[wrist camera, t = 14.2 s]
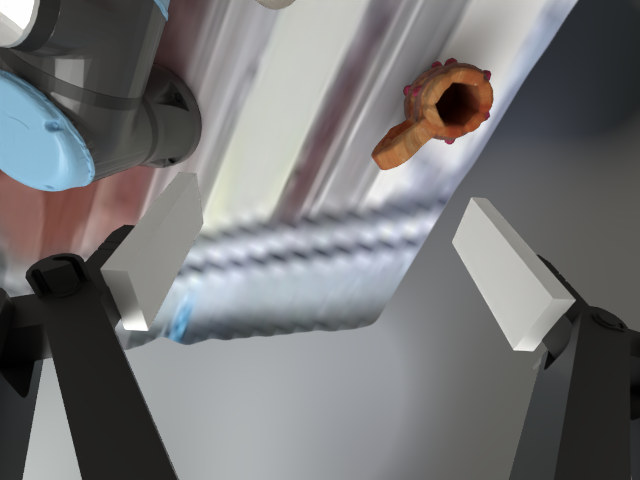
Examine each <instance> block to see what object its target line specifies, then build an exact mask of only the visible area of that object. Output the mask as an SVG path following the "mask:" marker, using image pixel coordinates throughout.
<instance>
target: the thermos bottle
mask: <svg viewBox="0 0 640 480" xmlns="http://www.w3.org/2000/svg"><path fill="white" fill-rule="evenodd" d="M256 1H257V2H258V3H260V4H261V5H263V6H265V7H267V8H270V9H282V8H285V7H287V6H289V5H290V4H292V3H293V2H294V1H295V0H256Z"/></svg>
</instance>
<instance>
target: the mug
mask: <svg viewBox="0 0 640 480" xmlns="http://www.w3.org/2000/svg"><path fill="white" fill-rule="evenodd" d="M490 77H491V73H490V71H487V70H484V71H482V70H481V69H479V68H477V67H476V66H474V65H470V64H466V63H458V62H457V60H456V59H454V58H451V59H448V60H447V61H446V62H445V65H444V66H442V64H441V63H440V62H438V61H437V62H435V63H433V65H432V68H431V69H430V70H428V71H426V72H424V73H423V74H421V75H420V76H419V77H418V78H417V79H416V80H415V81H414V82H413V83H412V84H411V85H407V86H405V88H404V90H403V92H404V95H406V97H405V101H404V111H405V116H406V121H404V122H403V123H401V124H399V125H397V126H394V127H393V128H391V129H390V130H389V131H388V133H387V134H386V135H385V136H384V138H383V139H382V140H381V141H380V142H379V143H378V145H377V146H376V147H375V149H374V150H373V152H372V158H373V159H374V161H375V162H376V163H377V165H378V166H379V167H380V169H382V170H388V169H391V168H394V167H397V166H399V165H401V164H402V163H404V162H406V161H407V160H408V159H410V158H411V157H412V156H413V155H414V154H415V153H416V152H417V151H418V150H419V149H420V148H421V147H422V146H423V145H424V144H425V143H426V142H427V141H428V140H430V139H431V138H435V139H439V140H445V142H446V143H447V144H452V143H454V141H455V139H456V138H458V137H461V136H463V135H465V134H467V133H468V132H472V131H474V130H476V129H477V128H478V127H479V126H480V124H481V122H483V121H486V120H487V119H488V118H489V117H490V114H489V110H490V109H491V107H492V103H493V89H492V87H491V84H490V82H489V80H490Z"/></svg>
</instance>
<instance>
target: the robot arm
mask: <svg viewBox="0 0 640 480" xmlns="http://www.w3.org/2000/svg"><path fill="white" fill-rule="evenodd" d="M169 2H170V0H0V169H1V170H2V171H3V172H5V173H6V174H8V175H9V176H11V177H12V178H14V179H15V180H17V181H19V182H21V183H23V184H25V185H27V186H30V187H32V188H36V189H40V190H44V191H61V190H65V189H69V188H72V187H80V186H86V185H88V184H90V183H92V182H94V181H97V180H100V179H102V178H105V177H108V176H110V175H113V174H116V173H118V172H121V171H124V170H127V169H129V168H132V167H134V166H137V165H138V166H146V167H153V168H165V167H170V166H173V165H176V164H178V163H181V162H183V161H184V160H186V159H187V158H189V157H190V156H191V155H192V153H193V152H194V151H195V149H196V147H197V145H198V143H199V140H200V135H201V118H200V113H199V109H198V106H197V103H196V101H195V99H194V97H193V95H192V93H191V92H190V90H189V89H188V87H187V86H186V85H185V84H184V82H183V81H182V80H181V79H180V78H179V77H177V76H176V75H175V74H174V73H172V72H171V71H169V70H168V69H166V68H164V67H162V66H159V65H156V64H153V62H154V58H155V55H156V52H157V48H158V45H159V42H160V38H161V35H162V32H163V29H164V25H165V22H166V21H167V20H168V12H167V11H168V7H169ZM202 225H203V217H202V210H201V203H200V196H199V189H198V182H197V175H196V173H184V172H179V173H178V174H177V175H176V177H175V178H174V179H173V180H172V182H171V183H170V184H169V185H168V187H167V188H166V189H165V190H164V191H163V193H162V194H161V195H160V196H159V198H158V199H157V200H156V201H155V202H154V204H153V205H152V206H151V207H150V209H149V210H148V211H147V212H146V214H145V215H144V216H143V217H142V218H141V220H140V221H139V222H138V223H137V225H136V226H134V225H123V226H122V227H120V228H118V229H117V230H115V231H113V232H112V233H111V234H110V235H109V236H108V237H107V238H106V240H105V241H104V243H102V244H101V245H100V246H99V247H98V250H96V251H95V252H94V253H93V254H92V255H91V256H90V257H89V259H88V260H87V261H86V262H84V260H83V259H82V258H81V257H80V256H79V255H76V254H72V253H62V254H57V255H52V256H49V257H47V258H44V259H41V260H40V261H38V262H36V263H35V264H33V265H32V266H31V267H30V268H29V269H28V270H27V272H26V277H25V278H26V279H27V281H28V283H29V284H30V286H31V287H32V289H33V291H34V292H35V294H30V295H24V296H17V297H11V298H10V297H9V295H8V294H7V292H6V291H5V290H3V289H2V288H0V480H22V479H23V473H24V467H25V461H26V455H27V450H28V444H29V439H30V433H31V428H32V421H33V416H34V411H35V405H36V399H37V394H38V388H39V382H40V377H41V371H42V365H43V359H47V358H51V357H53V361H54V365H55V369H56V373H57V377H58V382H59V386H60V390H61V394H62V398H63V403H64V407H65V411H66V415H67V419H68V423H69V427H70V432H71V436H72V439H73V444H74V448H75V452H76V456H77V460H78V465H79V469H80V473H81V477H82V480H179V479H178V476H177V474H176V472H175V469H174V467H173V465H172V462H171V460H170V458H169V455H168V453H167V451H166V448H165V446H164V444H163V441H162V439H161V436H160V434H159V432H158V430H157V427H156V425H155V422H154V421H153V418H152V415H151V413H150V411H149V408H148V406H147V404H146V401H145V399H144V397H143V394H142V392H141V390H140V388H139V385H138V383H137V380H136V378H135V376H134V373H133V371H132V369H131V366H130V364H129V362H128V359H127V357H126V355H125V352H124V350H123V348H122V345H121V343H120V341H119V338H118V336H117V334H116V331H115V329H114V328H115V327H116V325H117V323H118V322H119V320H120V319H121V321H122V323H123V325H124V328H125V329H126V330H145V331H148V330H149V328H150V327H151V325H152V323H153V321H154V319H155V317H156V315H157V313H158V311H159V309H160V307H161V305H162V303H163V301H164V299H165V297H166V295H167V293H168V291H169V290H170V288H171V286H172V284H173V282H174V280H175V278H176V276H177V274H178V272H179V270H180V268H181V266H182V264H183V262H184V260H185V258H186V256H187V254H188V253H189V251H190V249H191V247H192V245H193V243H194V241H195V239H196V237H197V235H198V233H199V231H200V229H201V227H202ZM452 243H453V245H454V247H455V248H456V250H457V252H458V253H459V255H460V257H461V259H462V261H463V262H464V264H465V266H466V268H467V269H468V271H469V273H470V274H471V276H472V278H473V280H474V281H475V283H476V285H477V287H478V289H479V290H480V292H481V294H482V296H483V297H484V299H485V301H486V303H487V304H488V306H489V308H490V310H491V311H492V313H493V315H494V317H495V318H496V320H497V322H498V324H499V325H500V327H501V329H502V331H503V332H504V334H505V336H506V338H507V339H508V341H509V343H510V345H511V346H512V348H513V350H523V351H534V349H535V348H536V347H537V346H538V345H539V343H540V342H541V341H543V343H544V344H545V346H546V347H547V349H548V350H547V351H546V352H545V353H544V354H543V355H542V357H540V359H539V360H538V361H537V362H536V363H535V364H534V366H533V368H534V369H536V368H537V367H538V366H540V367H539V371H538V374H537V378H536V381H535V385H534V389H533V392H532V396H531V400H530V404H529V407H528V411H527V415H526V418H525V422H524V426H523V429H522V433H521V437H520V440H519V444H518V448H517V451H516V456H515V459H514V462H513V466H512V470H511V474H510V477H509V480H631V477H632V480H640V332H637V331H634V330H631V329H628V327H627V326H626V325H625V324H624V322H623V321H622V320H620V319H619V318H618V317H617V316H615V315H614V314H612V313H610V312H608V311H606V310H604V309H601V308H598V307H593V306H589V305H588V304H587V303H586V302H585V301H584V300H583V298H582V297H581V296H580V295H579V294H578V293H577V292H576V291H575V290H574V288H572V287H571V285H570V284H569V283H568V282H566V281H565V279H564V277H563V276H562V275H561V274H559V272H558V271H557V270H556V269H555V268H554V267H553V265H552V264H551V263H550V262H548V261H547V260H545V259H544V258H542V257H541V256H540V255H536V254H535V253H534V252H533V251H532V250H531V249H530V247H529V246H528V245H527V244H526V243H525V242H524V241H523V240H522V238H521V237H520V236H519V235H518V234H517V233H516V231H515V230H514V229H513V228H512V227H511V226H510V225H509V223H508V222H507V221H505V219H504V218H503V217H502V215H501V214H500V213H499V212H498V211H497V210H496V209H495V208H494V206H493V205H492V204H491V203H490V202H489V201H488V200H487V199H486V198H474V197H472V198H471V200H470V202H469V204H468V207H467V209H466V211H465V214H464V216H463V218H462V221H461V223H460V225H459V227H458V230H457V232H456V234H455V237H454V239H453V241H452Z"/></svg>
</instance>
